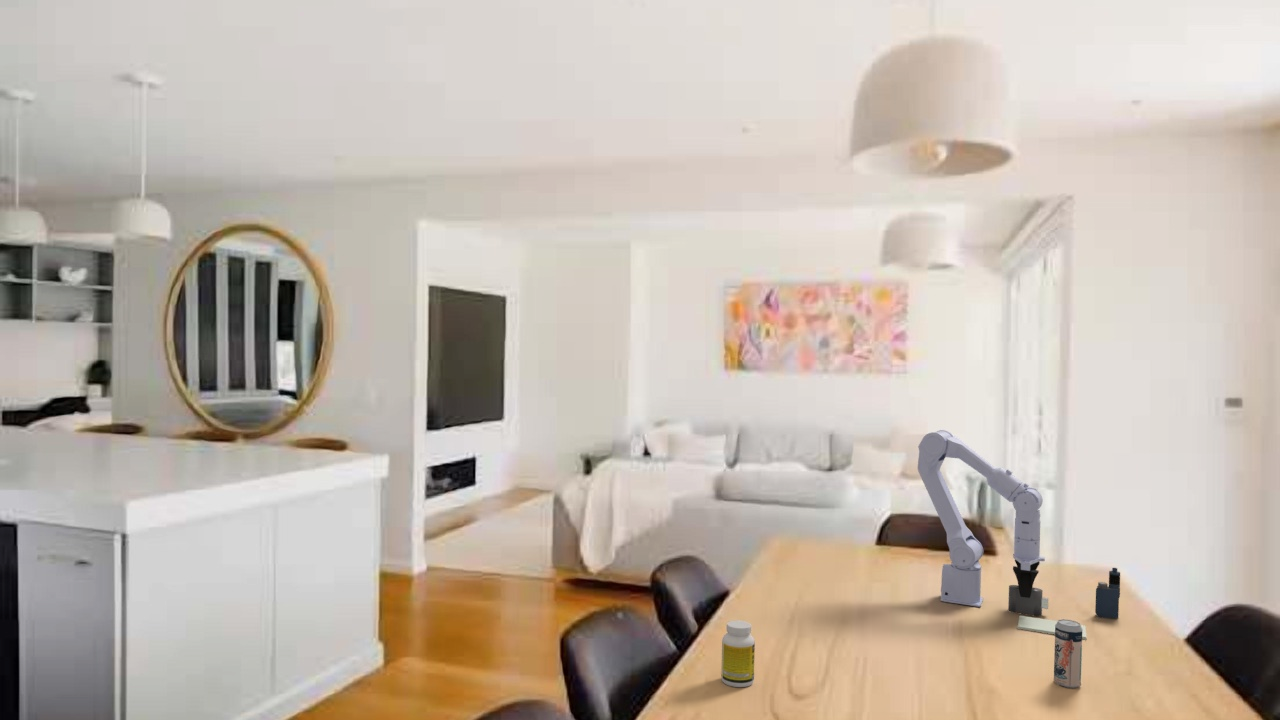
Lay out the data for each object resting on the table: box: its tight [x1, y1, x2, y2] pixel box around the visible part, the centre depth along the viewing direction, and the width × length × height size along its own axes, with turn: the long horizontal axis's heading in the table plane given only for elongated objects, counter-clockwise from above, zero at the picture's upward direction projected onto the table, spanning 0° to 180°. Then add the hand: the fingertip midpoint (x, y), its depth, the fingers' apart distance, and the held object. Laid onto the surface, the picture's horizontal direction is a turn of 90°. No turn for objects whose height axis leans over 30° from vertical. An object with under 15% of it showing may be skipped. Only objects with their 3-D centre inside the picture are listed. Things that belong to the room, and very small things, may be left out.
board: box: [1017, 615, 1087, 641], centre depth 192 cm, size 14×9×1 cm, turn 63°
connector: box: [1007, 584, 1049, 617], centre depth 203 cm, size 9×4×6 cm, turn 63°
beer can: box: [1053, 618, 1083, 689], centre depth 159 cm, size 5×5×12 cm
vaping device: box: [1094, 567, 1121, 619], centre depth 202 cm, size 3×5×12 cm, turn 78°
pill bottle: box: [720, 619, 756, 688], centre depth 157 cm, size 6×6×11 cm
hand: (1025, 593), depth 203 cm, fingers open, 7 cm apart
